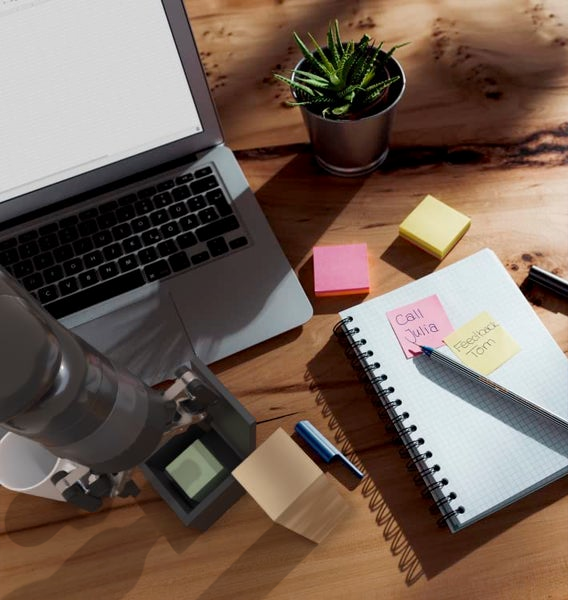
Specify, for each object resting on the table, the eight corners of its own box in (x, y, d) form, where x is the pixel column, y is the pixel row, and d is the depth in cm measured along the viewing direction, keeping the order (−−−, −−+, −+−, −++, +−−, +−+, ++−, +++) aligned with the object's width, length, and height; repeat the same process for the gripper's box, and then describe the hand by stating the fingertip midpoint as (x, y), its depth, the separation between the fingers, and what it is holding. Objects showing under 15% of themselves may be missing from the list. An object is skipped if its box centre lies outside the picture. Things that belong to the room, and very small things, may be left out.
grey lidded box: (205, 531, 73) (186, 526, 67) (156, 473, 76) (133, 462, 70) (267, 472, 76) (254, 461, 70) (217, 417, 79) (201, 402, 72)
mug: (41, 494, 75) (-22, 477, 64) (71, 438, 78) (15, 413, 67) (119, 523, 74) (68, 511, 63) (147, 465, 76) (103, 444, 66)
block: (203, 503, 74) (190, 498, 70) (178, 475, 75) (164, 468, 71) (234, 474, 75) (223, 467, 71) (209, 446, 76) (197, 438, 72)
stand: (318, 544, 73) (273, 521, 49) (288, 510, 74) (230, 472, 50) (351, 510, 74) (323, 472, 50) (321, 478, 76) (280, 426, 52)
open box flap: (249, 425, 61) (256, 419, 62) (189, 359, 64) (196, 355, 64) (250, 463, 69) (256, 458, 70) (196, 404, 72) (202, 399, 72)
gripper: (144, 315, 52) (203, 377, 67) (-16, 444, 48) (84, 480, 63) (203, 380, 50) (250, 429, 65) (41, 521, 46) (131, 539, 61)
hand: (168, 454), depth 64 cm, fingers open, 8 cm apart
